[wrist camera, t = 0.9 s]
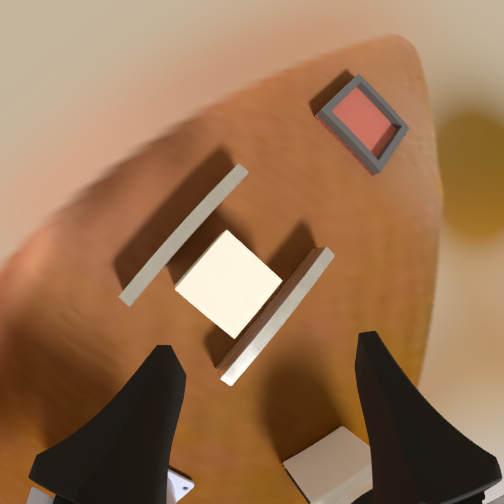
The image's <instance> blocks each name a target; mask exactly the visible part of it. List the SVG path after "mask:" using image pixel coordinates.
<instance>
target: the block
mask: <svg viewBox="0 0 504 504" xmlns="http://www.w3.org/2000/svg"><path fill="white" fill-rule="evenodd" d="M282 281H283V280H281V279H280V278H279V277H278V276H277V275H276V274H275V273H274V272H273V271H272V270H271V269H269V268H268V267H267V266H266V265H265V264H264V263H263V262H262V261H261V260H260V259H258V258H257V257H256V256H255V255H254V254H253V253H252V252H251V251H250V250H249V249H248V248H246V247H245V246H244V245H243V244H242V243H241V242H240V241H239V240H238V239H237V238H235V237H234V236H233V235H232V234H231V233H230V232H229V231H228V230H226V231H224V232H223V233H221V234H220V235H219V236H217V238H216V239H215V240H214V241H213V242H212V243H211V244H210V245H209V247H208V248H207V249H206V250H205V251H204V252H203V253H202V254H201V256H200V257H199V258H198V259H197V260H196V261H195V262H194V264H193V265H192V266H191V267H190V268H189V269H188V271H187V272H186V273H185V274H184V275H183V276H182V277H181V279H180V280H179V281H178V282H177V283H176V284H175V286H174V287H175V290H176V291H177V292H179V293H180V294H181V295H182V296H183V297H184V298H186V299H187V300H188V301H189V302H190V303H191V304H193V305H194V306H195V307H196V308H197V309H198V310H200V311H201V312H202V313H203V314H204V315H206V316H207V317H208V318H209V319H210V320H212V321H213V322H214V323H215V324H216V325H218V326H219V327H220V328H221V329H223V330H224V331H225V332H226V333H228V334H229V335H230V336H231V337H233V338H234V339H235V338H236V337H237V336H238V334H239V333H240V332H241V331H242V330H243V328H244V327H245V326H246V325H247V324H248V322H249V321H250V320H251V319H252V318H253V316H254V315H255V314H256V313H257V312H258V310H259V309H260V308H261V307H262V306H263V304H264V303H265V302H266V301H267V299H268V298H269V297H270V296H271V295H272V293H273V292H274V291H275V290H276V288H277V287H278V286H279V285H280V283H281V282H282Z"/></svg>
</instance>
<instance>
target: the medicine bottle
mask: <svg viewBox="0 0 504 504" xmlns="http://www.w3.org/2000/svg"><path fill="white" fill-rule="evenodd" d="M282 466H283V468H284V469H285V471H286V472H287V474H288V475H289V476H290V478H291V479H292V481H293V482H294V484H295V485H296V487H297V488H298V489H299V491H300V492H301V494H302V495H303V496H304V498H305V499H306V501H307V502H308V503H309V504H373V484H372V465H371V452H370V446H368V445H367V444H366V443H364V442H363V441H362V440H360V439H359V438H358V437H357V436H355V435H354V434H353V433H352V432H350V431H349V430H348V429H346V428H345V427H344V426H341V427H339V428H338V429H336V430H335V431H333V432H332V433H330V434H329V435H327V436H326V437H324V438H323V439H321V440H320V441H318V442H316V443H315V444H313V445H312V446H310V447H308V448H307V449H305V450H303V451H302V452H300V453H298V454H297V455H295V456H293V457H291V458H290V459H288V460H286V461H284V462H283V463H282Z"/></svg>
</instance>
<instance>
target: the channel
mask: <svg viewBox="0 0 504 504" xmlns="http://www.w3.org/2000/svg"><path fill="white" fill-rule="evenodd" d="M248 173H249V172H248V171H247V170H246V169H245V168H244V167H242V166H241V165H240V164H239V163H238V164H237V165H236V166H235V167H234V168H233V169H232V171H231V172H230V173H229V174H228V175H227V176H226V177H225V178H224V179H223V180H222V181H221V182H220V183H219V184H218V185H217V186H216V187H215V188H214V189H213V190H212V191H211V192H210V193H209V194H208V195H207V196H206V197H205V199H204V200H203V201H202V202H201V203H200V204H199V205H198V206H197V207H196V208H195V209H194V210H193V211H192V212H191V214H190V215H189V216H188V217H187V218H186V219H185V220H184V221H183V222H182V223H181V224H180V226H179V227H178V228H177V229H176V230H175V231H174V232H173V233H172V234H171V236H170V237H169V238H168V239H167V240H166V241H165V242H164V244H163V245H162V246H161V247H160V248H159V249H158V250H157V252H156V253H155V254H154V255H153V256H152V257H151V258H150V260H149V261H148V262H147V263H146V264H145V266H144V267H143V268H142V269H141V270H140V271H139V273H138V274H137V275H136V276H135V277H134V279H133V280H132V281H131V282H130V283H129V285H128V286H127V287H126V288H125V290H124V291H123V292H122V293H121V294H120V296H119V298H120V299H121V300H122V301H124V302H125V303H126V304H127V305H128V306H129V307H130V306H131V305H132V304H133V303H134V302H135V301H136V300H137V299H138V297H139V296H140V295H141V294H142V293H143V291H144V290H145V289H146V288H147V287H148V285H149V284H150V283H151V282H152V281H153V279H154V278H155V277H156V276H157V275H158V274H159V272H160V271H161V270H162V269H163V268H164V267H165V265H166V264H167V263H168V262H169V261H170V260H171V258H172V257H173V256H174V255H175V254H176V253H177V252H178V250H179V249H180V248H181V247H182V246H183V245H184V244H185V242H186V241H187V240H188V239H189V238H190V237H191V236H192V235H193V233H194V232H195V231H196V230H197V229H198V228H199V227H200V226H201V225H202V223H203V222H204V221H205V220H206V219H207V218H208V217H209V216H210V215H211V214H212V212H213V211H214V210H215V209H216V208H217V207H218V206H219V205H220V204H221V203H222V202H223V201H224V200H225V198H226V197H227V196H228V195H229V194H230V193H231V192H232V191H233V190H234V189H235V188H236V187H237V186H238V185H239V184H240V183H241V181H242V180H243V179H244V178H245V177H246V175H247V174H248ZM334 256H335V255H334V254H333V253H332V252H331V251H330V250H329V249H328V248H327V247H321V248H314V249H311V251H310V252H309V253H308V255H307V256H306V257H305V259H304V260H303V261H302V262H301V264H300V265H299V266H298V268H297V269H296V270H295V271H294V273H293V274H292V275H291V276H290V278H289V279H288V280H287V282H286V283H285V284H284V285H283V287H282V288H281V289H280V290H279V292H278V293H277V294H276V295H275V297H274V298H273V299H272V300H271V302H270V303H269V304H268V305H267V307H266V308H265V309H264V310H263V311H262V313H261V314H260V315H259V316H258V318H257V319H256V320H255V321H254V322H253V324H252V325H251V326H250V327H249V328H248V330H247V331H246V332H245V333H244V334H243V336H242V337H241V338H240V339H239V340H238V342H237V343H236V344H235V345H234V346H233V348H232V349H231V350H230V351H229V352H228V354H227V355H226V356H225V357H224V358H223V359H222V361H221V362H220V363H219V364H218V365H217V366H216V368H215V369H216V371H217V373H218V376H219V378H220V379H221V380H222V381H224V382H225V383H227V384H228V385H229V386H232V384H233V383H234V382H235V381H236V380H237V379H238V378H239V376H240V375H241V374H242V373H243V372H244V371H245V369H246V368H247V367H248V366H249V365H250V364H251V362H252V361H253V360H254V359H255V358H256V356H257V355H258V354H259V353H260V352H261V350H262V349H263V348H264V347H265V346H266V344H267V343H268V342H269V341H270V339H271V338H272V337H273V336H274V335H275V333H276V332H277V331H278V330H279V328H280V327H281V326H282V325H283V323H284V322H285V321H286V320H287V318H288V317H289V316H290V314H291V313H292V312H293V311H294V309H295V308H296V307H297V306H298V304H299V303H300V302H301V300H302V299H303V298H304V296H305V295H306V294H307V293H308V291H309V290H310V289H311V287H312V286H313V285H314V283H315V282H316V281H317V279H318V278H319V277H320V275H321V274H322V273H323V271H324V270H325V268H326V267H327V266H328V264H329V263H330V262H331V260H332V259H333V258H334Z"/></svg>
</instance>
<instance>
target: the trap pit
mask: <svg viewBox="0 0 504 504" xmlns="http://www.w3.org/2000/svg"><path fill="white" fill-rule="evenodd" d="M315 117H316V118H317V119H318V120H319V121H320V122H321V123H322V124H323V125H324V126H325V127H326V128H327V129H328V130H329V131H330V132H331V133H332V134H333V135H334V136H335V137H336V138H337V139H338V140H339V141H340V142H341V143H342V144H343V145H344V146H345V147H346V148H347V149H348V150H349V151H350V152H351V153H352V154H353V155H354V156H355V158H356V159H357V160H358V161H359V162H360V163H361V164H362V165H363V166H364V167H365V168H366V170H367V171H368V172H369V173H370V174H371V175H372V176H373V175H375V174H377V173H379V172H381V171H382V169H383V168H384V166H385V165H386V163H387V162H388V160H389V159H390V157H391V156H392V154H393V153H394V151H395V149H396V148H397V146H398V145H399V143H400V142H401V140H402V139H403V137H404V136H405V134H406V132H407V131H408V129H409V127H408V126H407V125H406V123H405V122H404V121H403V120H402V119H401V118H400V117H399V115H398V114H397V113H396V112H395V111H394V110H393V109H392V108H391V106H390V105H389V104H388V103H387V102H386V101H385V100H384V99H383V98H382V97H381V96H380V95H379V94H378V93H377V92H376V90H375V89H374V88H373V87H372V86H371V85H370V84H369V83H368V82H367V81H366V80H365V79H364V78H363V77H361V76H360V75H359V74H358V75H357V76H356V77H355V78H353V79H352V80H351V81H350V82H349V83H348V84H347V85H346V86H345V87H344V88H343V89H342V90H341V91H340V92H339V93H337V94H336V95H335V96H334V97H333V98H332V99H331V100H330V101H329V102H328V103H327V104H326V105H325V106H324V107H323V108H322V109H321V110H320V111H319V112H318V113H317V114H316V115H315Z"/></svg>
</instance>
